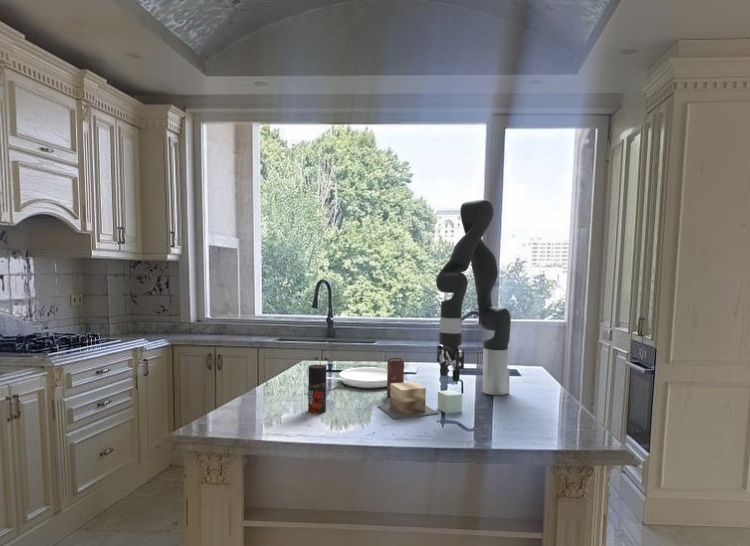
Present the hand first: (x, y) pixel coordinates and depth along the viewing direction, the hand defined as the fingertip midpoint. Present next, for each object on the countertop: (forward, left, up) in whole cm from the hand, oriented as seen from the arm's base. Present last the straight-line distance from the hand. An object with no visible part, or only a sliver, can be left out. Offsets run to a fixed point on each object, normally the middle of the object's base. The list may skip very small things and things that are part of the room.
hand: (449, 378), depth 162 cm
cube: (0, 0, -11) cm, 11 cm away
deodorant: (+43, -13, -11) cm, 46 cm away
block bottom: (+14, -4, -10) cm, 18 cm away
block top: (+14, -4, -6) cm, 16 cm away
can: (+11, -21, -11) cm, 26 cm away
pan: (+19, -42, -11) cm, 48 cm away
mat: (+14, -4, -11) cm, 18 cm away
